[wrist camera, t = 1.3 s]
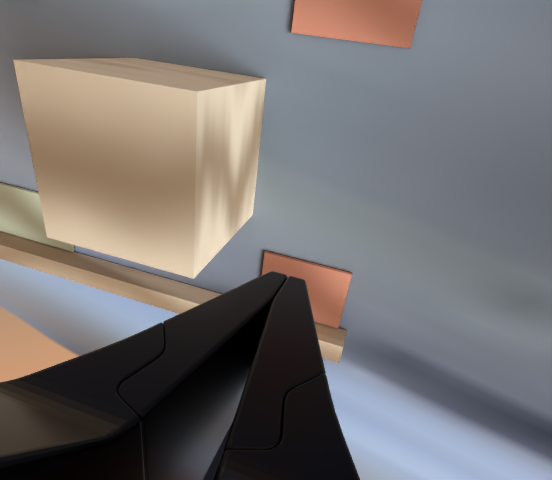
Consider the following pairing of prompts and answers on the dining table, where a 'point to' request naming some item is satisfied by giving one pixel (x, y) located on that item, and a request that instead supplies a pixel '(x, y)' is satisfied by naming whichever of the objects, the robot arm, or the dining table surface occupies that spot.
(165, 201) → the maple block
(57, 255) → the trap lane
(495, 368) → the dining table surface
